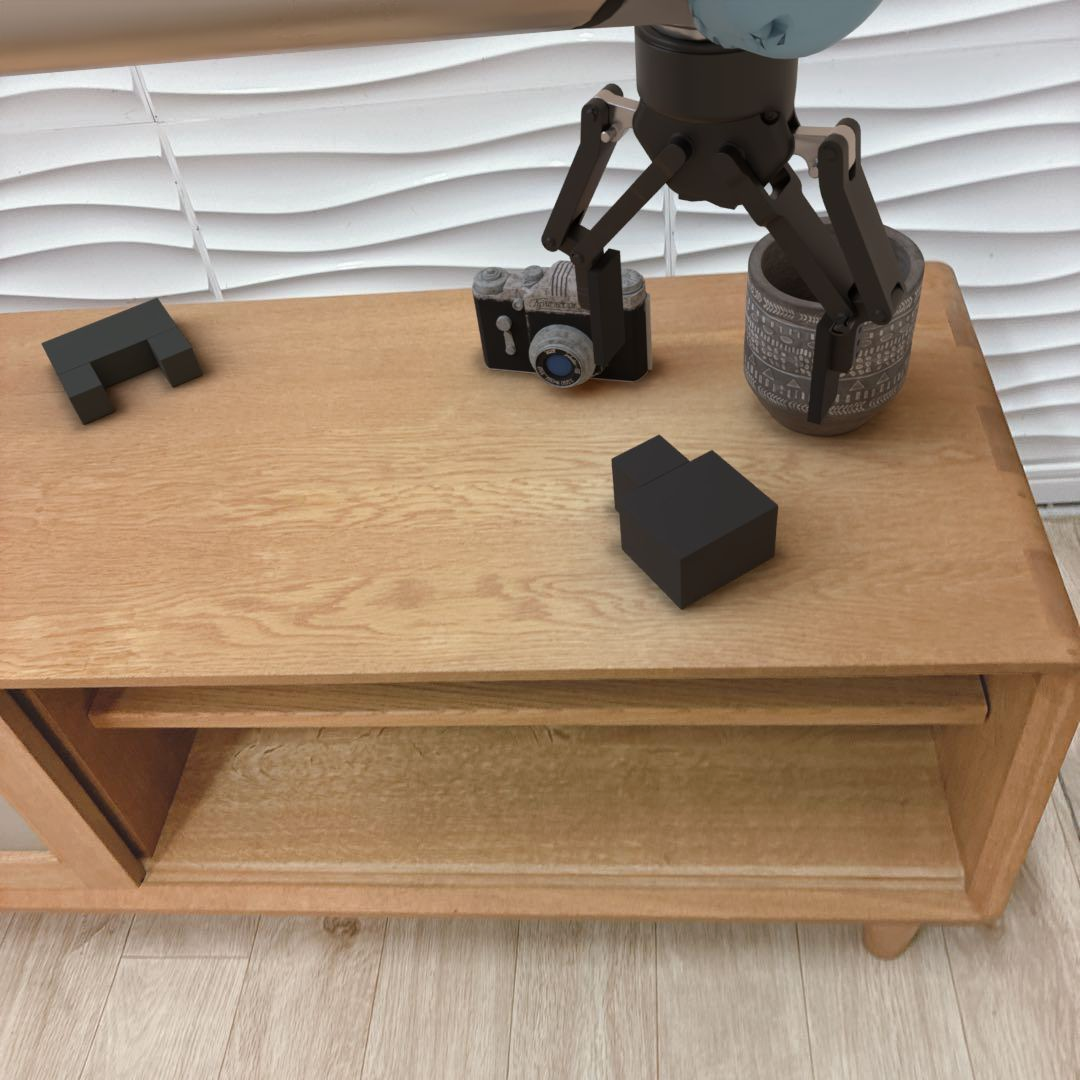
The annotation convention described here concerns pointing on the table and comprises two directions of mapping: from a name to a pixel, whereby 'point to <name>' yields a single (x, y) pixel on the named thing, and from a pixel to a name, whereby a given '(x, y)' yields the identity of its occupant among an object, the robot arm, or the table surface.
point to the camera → (556, 325)
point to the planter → (789, 338)
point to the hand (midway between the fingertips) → (711, 380)
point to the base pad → (119, 355)
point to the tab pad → (690, 519)
